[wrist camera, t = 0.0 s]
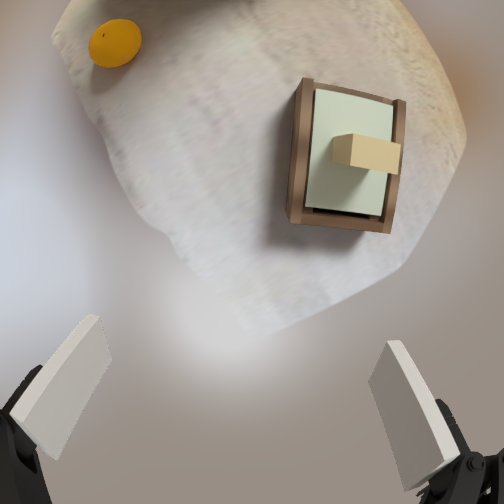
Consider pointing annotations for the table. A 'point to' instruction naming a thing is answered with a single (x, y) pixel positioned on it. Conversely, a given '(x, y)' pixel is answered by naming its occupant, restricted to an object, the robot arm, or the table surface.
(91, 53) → the orange
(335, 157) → the lid
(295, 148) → the case
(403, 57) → the table surface
